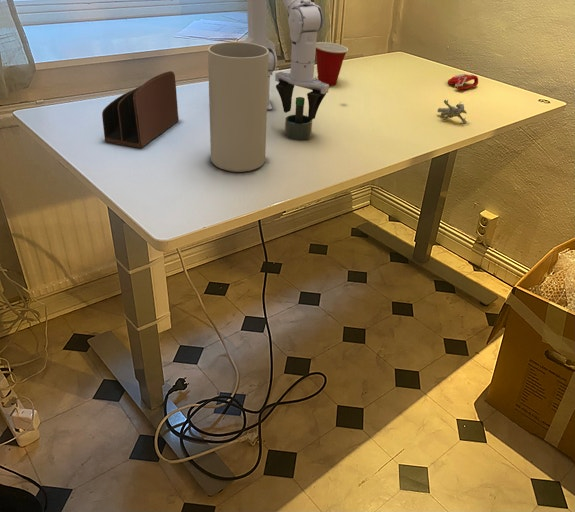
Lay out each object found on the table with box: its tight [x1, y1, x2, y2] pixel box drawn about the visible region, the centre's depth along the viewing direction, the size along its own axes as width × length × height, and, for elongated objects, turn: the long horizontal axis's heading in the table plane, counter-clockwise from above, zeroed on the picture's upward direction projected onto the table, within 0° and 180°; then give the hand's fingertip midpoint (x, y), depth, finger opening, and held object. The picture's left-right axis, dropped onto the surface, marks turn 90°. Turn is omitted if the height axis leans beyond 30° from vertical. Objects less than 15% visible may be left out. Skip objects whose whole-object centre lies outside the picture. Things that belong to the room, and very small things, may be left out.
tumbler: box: [284, 114, 313, 141], centre depth 142 cm, size 7×7×4 cm
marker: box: [294, 96, 306, 124], centre depth 140 cm, size 2×2×9 cm
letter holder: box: [101, 70, 180, 149], centre depth 136 cm, size 10×20×14 cm, turn 163°
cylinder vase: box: [207, 41, 269, 173], centre depth 121 cm, size 12×12×25 cm
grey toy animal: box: [437, 99, 468, 124], centre depth 156 cm, size 10×6×9 cm
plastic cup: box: [315, 41, 349, 87], centre depth 177 cm, size 11×11×12 cm
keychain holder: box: [447, 73, 479, 90], centre depth 184 cm, size 12×4×10 cm
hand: (299, 115), depth 140 cm, fingers open, 7 cm apart
